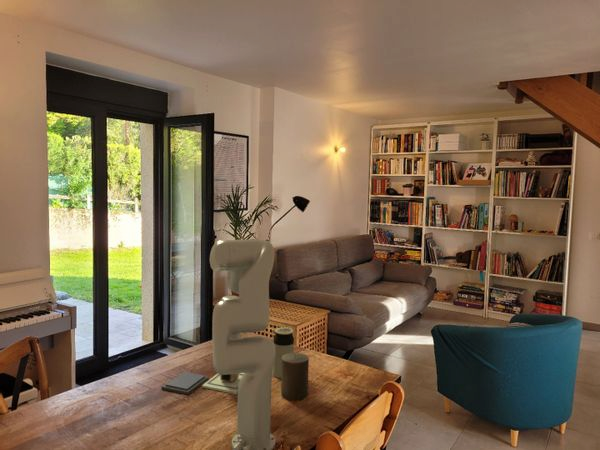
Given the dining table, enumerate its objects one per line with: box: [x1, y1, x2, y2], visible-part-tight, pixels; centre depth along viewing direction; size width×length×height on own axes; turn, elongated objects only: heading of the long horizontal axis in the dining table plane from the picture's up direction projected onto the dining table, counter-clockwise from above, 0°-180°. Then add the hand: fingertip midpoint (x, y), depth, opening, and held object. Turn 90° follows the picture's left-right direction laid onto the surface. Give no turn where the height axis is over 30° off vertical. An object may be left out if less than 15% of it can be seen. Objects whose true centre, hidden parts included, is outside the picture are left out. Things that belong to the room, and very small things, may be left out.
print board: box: [201, 373, 244, 395], centre depth 174 cm, size 16×14×1 cm
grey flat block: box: [161, 371, 210, 395], centre depth 171 cm, size 14×11×2 cm
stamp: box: [220, 373, 239, 382], centre depth 174 cm, size 5×5×8 cm
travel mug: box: [272, 326, 295, 379], centre depth 181 cm, size 8×8×18 cm
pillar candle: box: [280, 352, 310, 402], centre depth 165 cm, size 10×10×15 cm
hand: (229, 375), depth 174 cm, fingers closed on stamp, 5 cm apart
